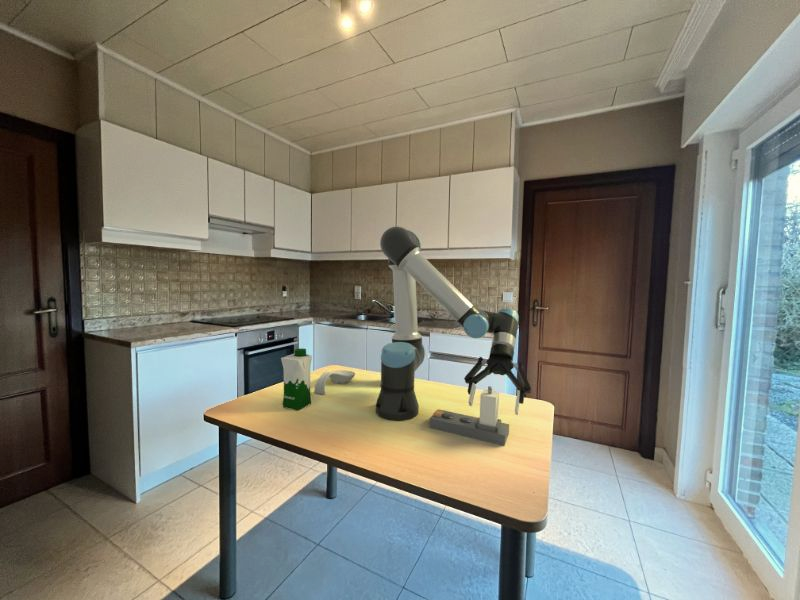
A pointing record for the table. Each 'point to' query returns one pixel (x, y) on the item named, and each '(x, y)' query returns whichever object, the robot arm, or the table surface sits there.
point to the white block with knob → (489, 407)
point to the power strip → (469, 426)
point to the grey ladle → (336, 376)
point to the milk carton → (296, 380)
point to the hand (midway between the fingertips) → (492, 408)
